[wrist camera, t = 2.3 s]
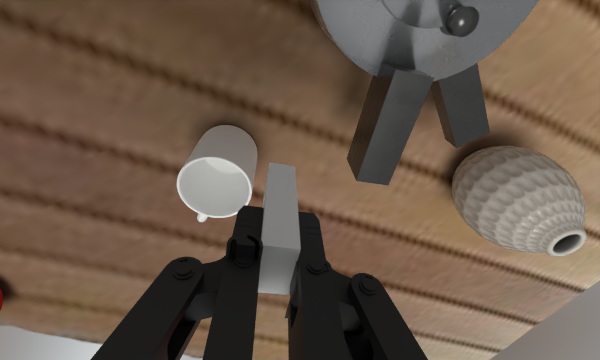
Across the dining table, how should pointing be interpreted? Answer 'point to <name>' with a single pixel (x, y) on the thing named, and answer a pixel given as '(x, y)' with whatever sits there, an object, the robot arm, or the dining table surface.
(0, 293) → the tomato
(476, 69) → the pot
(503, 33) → the lid
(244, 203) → the cup
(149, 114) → the dining table surface
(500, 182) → the vase
